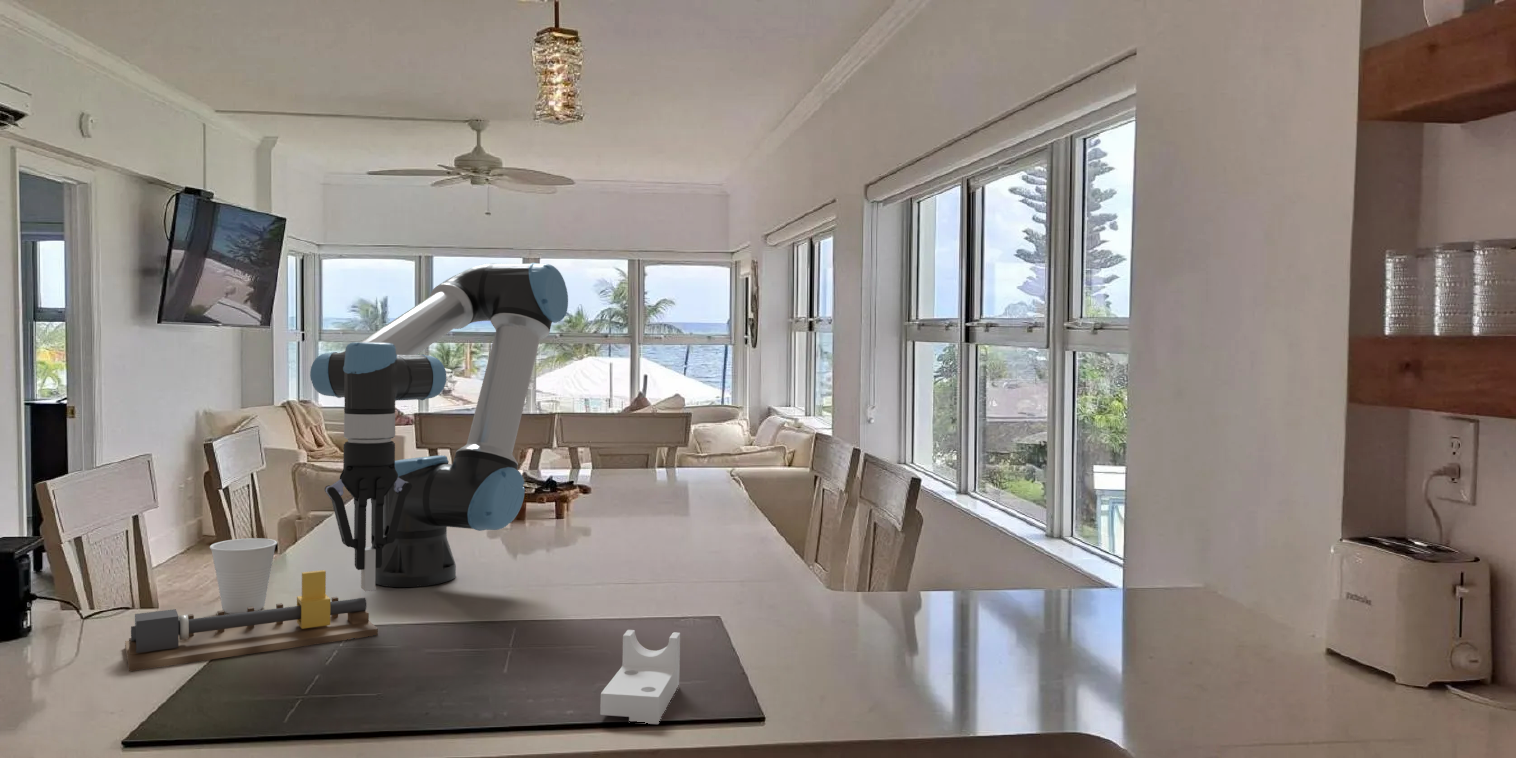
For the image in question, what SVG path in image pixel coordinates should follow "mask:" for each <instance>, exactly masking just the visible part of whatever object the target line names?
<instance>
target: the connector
mask: <svg viewBox="0 0 1516 758" xmlns="http://www.w3.org/2000/svg"><path fill="white" fill-rule="evenodd" d="M188 615H189V614H183V615H182V614H181V615H179V614H178V611H177V609H175V608H173V609H166V610H158V611H150V612H149V611H148V612H141V613H135V614H134V626H136V653H141V652H148V651H155V650H163V649H170V648H177V647H178V631H179V621H180V635H179V639H180V640H183V639H188V637H189V620H188Z"/></svg>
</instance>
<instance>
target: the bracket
mask: <svg viewBox="0 0 1516 758" xmlns="http://www.w3.org/2000/svg"><path fill="white" fill-rule="evenodd" d="M680 659H681V632H677V631H676V632H675V631H674V632H672V634H671V635H670V636H669V638H668V643H667V645H666V646H664V647H663V648H661V649H658V650H652V649H647V647H644V646H643V645H642V644H641V643H640V642H639V641H638V638H637V636H636V631H635V629H627V630H626V631H625V632H624V633H623V635H622V664H621V667H620V669H619V670H618V671H617V672H616V673H615V675H614V676H613V677H612V679H610V681H609V682H608V684H607V685H606V686H605V687H604V689H603V690H602V691H601V693H600V712H599V715H601V716H612V717H626V718H627V717H628V722H629V721H637V722H645V723H644V724H646V723H648V725H649V724H650V725H659V724H660V722H661V720H662V718H661V716H662V714H663V713H664V711H665V710H666V711H667V709H666V707H667V705H668V703H669V702H670V700H671V698H672V696H673V694H674V693H675V691H676V688H677V687H678V685H679V686H680V664H681V660H680ZM670 703H671V702H670ZM666 711H665V712H666ZM664 714H665V713H664ZM660 719H661V720H660ZM659 721H660V722H659Z"/></svg>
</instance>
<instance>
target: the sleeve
mask: <svg viewBox="0 0 1516 758" xmlns="http://www.w3.org/2000/svg"><path fill="white" fill-rule="evenodd" d="M326 572H327V571H326V570H324V569H322V570H321V569H320V570H313V571H312V570H311V571H304V572H303V571H302V572H301V595H299V596H297V595H296V606H301V619H297V623H298V625H299V626H300V627H301V628H302V629H304V628H311V627H318V626H326V625H330V602H331V598H330V597H329V596H328V595H327V594H326V590H327V589H326V588H327V587H326V583H327V582H326V579H327V578H326V577H327V576H326V575H327V573H326Z"/></svg>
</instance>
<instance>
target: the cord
mask: <svg viewBox="0 0 1516 758" xmlns="http://www.w3.org/2000/svg"><path fill="white" fill-rule="evenodd" d="M365 610H366V611H367V599H366V597H361V598H360V597H359V598H351V599H343V600H338V601H334V602H332V601H330V615H336V614H343V613H351V612H359V611H365ZM297 619H301V606H297V605H294V606H288V607H283V608H277V609H276V608H270V609H261V610H259V611H253V612H245V613H237V614H229V613H228V614H224V615H220V616H218V615H213V616H206V617H204V616H203V617H198V618H194V619H188V620H189V634H190V633H198V632H205V631H213V630H221V629H228V628H236V627H244V626H251V625H259V624H267V623H274V622H282V621H290V620H297ZM178 635H180V621H179V631H178ZM130 638H131V641H136V626H135V625H134V626H133V625H132V626H131V627H130Z"/></svg>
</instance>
